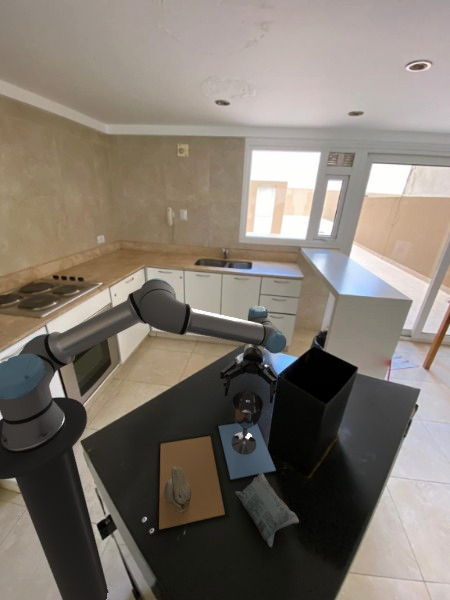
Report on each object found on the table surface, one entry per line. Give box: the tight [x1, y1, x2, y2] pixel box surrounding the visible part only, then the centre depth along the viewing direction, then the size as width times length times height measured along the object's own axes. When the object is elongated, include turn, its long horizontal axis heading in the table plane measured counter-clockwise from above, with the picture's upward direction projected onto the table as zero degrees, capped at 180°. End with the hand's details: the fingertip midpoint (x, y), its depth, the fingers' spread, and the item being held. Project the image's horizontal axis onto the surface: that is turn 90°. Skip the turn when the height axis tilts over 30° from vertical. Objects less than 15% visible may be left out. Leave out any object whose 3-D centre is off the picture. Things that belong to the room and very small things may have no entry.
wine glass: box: [231, 390, 264, 455], centre depth 69 cm, size 8×8×15 cm
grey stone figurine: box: [165, 467, 191, 513], centre depth 56 cm, size 6×8×10 cm
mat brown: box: [158, 435, 226, 530], centre depth 63 cm, size 20×14×1 cm
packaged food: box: [234, 471, 300, 548], centre depth 55 cm, size 9×12×5 cm
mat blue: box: [217, 422, 277, 480], centre depth 71 cm, size 16×12×1 cm
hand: (248, 396), depth 75 cm, fingers open, 13 cm apart
